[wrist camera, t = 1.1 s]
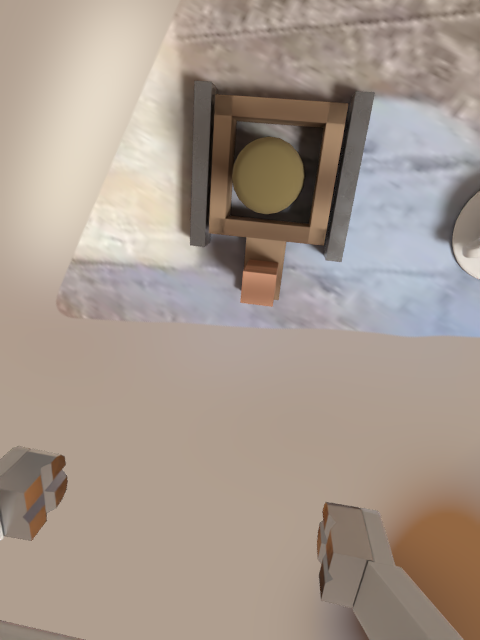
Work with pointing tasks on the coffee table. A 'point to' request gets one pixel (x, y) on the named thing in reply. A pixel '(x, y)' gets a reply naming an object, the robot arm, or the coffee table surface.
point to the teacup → (468, 237)
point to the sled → (267, 234)
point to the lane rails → (345, 178)
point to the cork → (268, 175)
